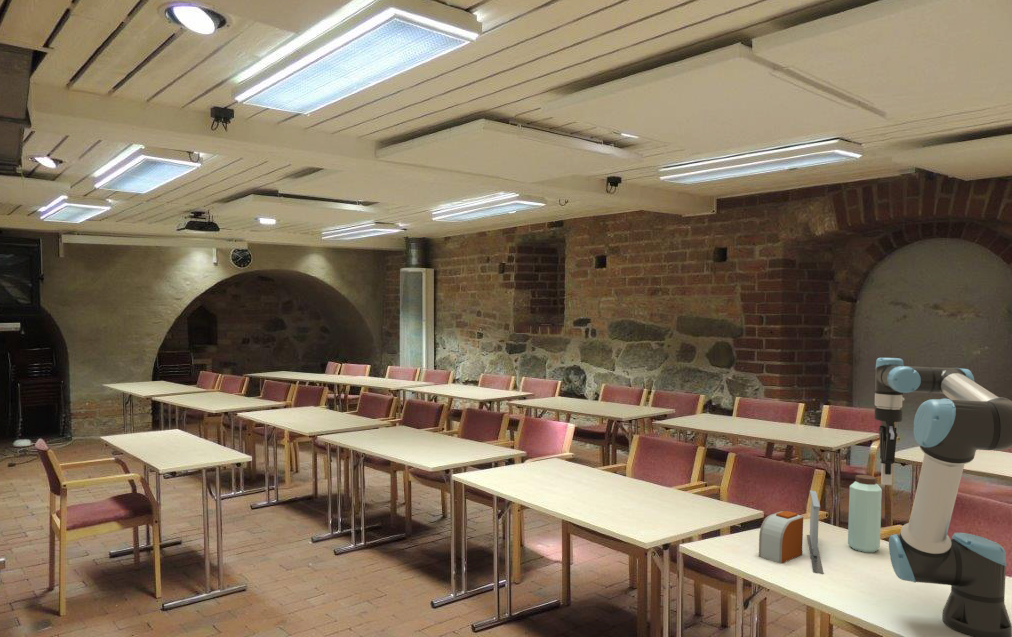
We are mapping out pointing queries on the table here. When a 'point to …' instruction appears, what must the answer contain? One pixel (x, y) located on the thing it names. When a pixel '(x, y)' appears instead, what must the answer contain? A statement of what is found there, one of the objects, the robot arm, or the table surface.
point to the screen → (814, 521)
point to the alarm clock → (781, 536)
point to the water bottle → (864, 514)
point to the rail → (815, 559)
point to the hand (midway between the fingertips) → (886, 484)
